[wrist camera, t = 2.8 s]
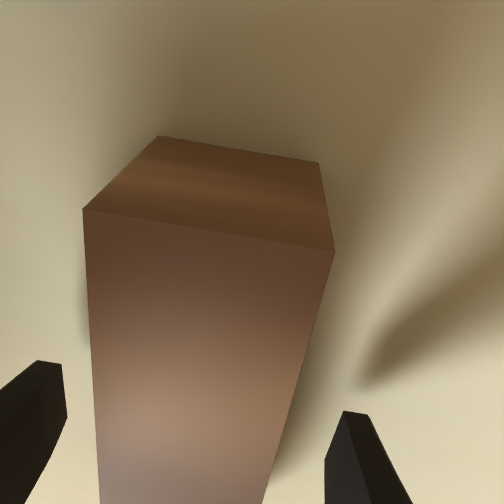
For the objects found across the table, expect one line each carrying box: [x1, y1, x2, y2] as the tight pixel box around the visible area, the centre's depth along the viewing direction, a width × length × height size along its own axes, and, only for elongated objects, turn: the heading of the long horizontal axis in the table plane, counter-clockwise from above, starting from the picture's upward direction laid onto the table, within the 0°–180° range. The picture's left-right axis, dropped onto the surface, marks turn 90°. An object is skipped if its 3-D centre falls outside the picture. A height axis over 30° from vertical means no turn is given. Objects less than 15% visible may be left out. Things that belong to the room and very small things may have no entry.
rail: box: [82, 136, 335, 504], centre depth 11 cm, size 13×3×4 cm, turn 172°
